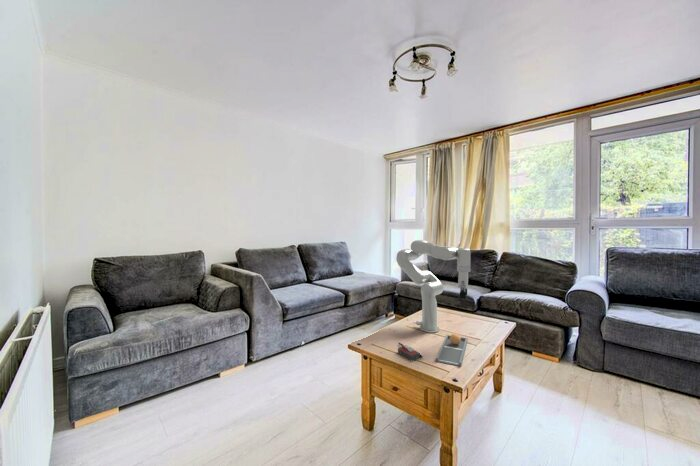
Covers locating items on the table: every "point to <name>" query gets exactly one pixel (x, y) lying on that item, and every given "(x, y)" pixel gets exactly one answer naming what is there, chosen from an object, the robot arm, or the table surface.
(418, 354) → the walkie-talkie
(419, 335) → the table surface
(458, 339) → the ball
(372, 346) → the table surface
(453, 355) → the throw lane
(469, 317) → the table surface
